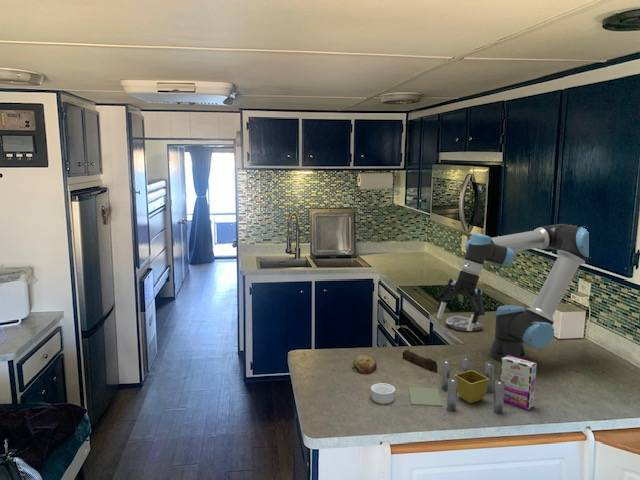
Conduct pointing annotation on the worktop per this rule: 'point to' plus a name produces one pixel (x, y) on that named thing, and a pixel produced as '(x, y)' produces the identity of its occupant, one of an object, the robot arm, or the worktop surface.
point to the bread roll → (364, 364)
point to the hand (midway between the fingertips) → (453, 324)
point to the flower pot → (471, 386)
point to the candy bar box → (518, 381)
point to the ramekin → (382, 393)
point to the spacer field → (451, 383)
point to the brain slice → (462, 323)
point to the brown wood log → (421, 360)
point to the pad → (424, 396)
